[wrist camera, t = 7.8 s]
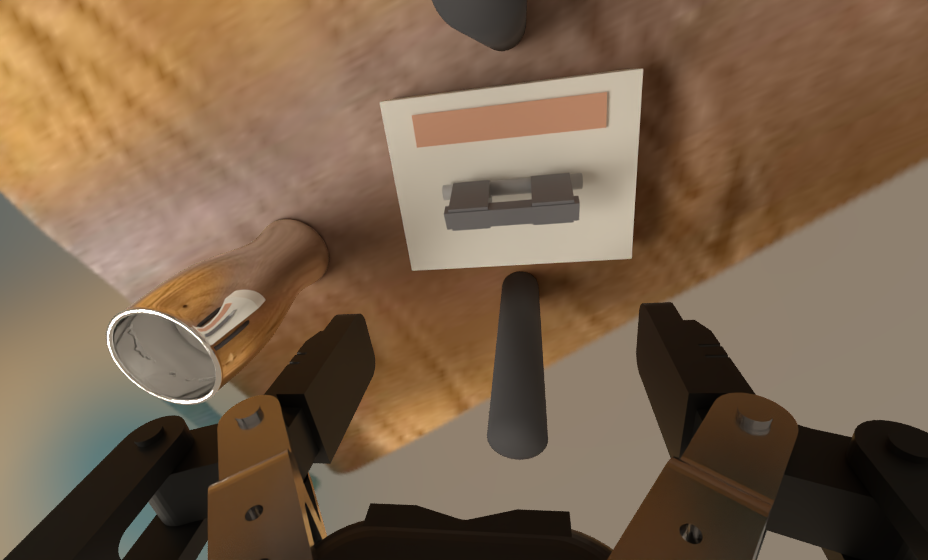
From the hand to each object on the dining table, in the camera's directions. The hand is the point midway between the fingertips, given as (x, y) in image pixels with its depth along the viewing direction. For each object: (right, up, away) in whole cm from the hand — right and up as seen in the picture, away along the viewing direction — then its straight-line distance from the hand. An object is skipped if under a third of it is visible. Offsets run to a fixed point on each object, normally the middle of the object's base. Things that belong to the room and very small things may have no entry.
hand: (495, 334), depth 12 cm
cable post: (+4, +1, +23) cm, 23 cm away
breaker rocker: (+2, +8, +15) cm, 17 cm away
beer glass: (-15, +4, +24) cm, 29 cm away
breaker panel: (+3, +9, +18) cm, 21 cm away
